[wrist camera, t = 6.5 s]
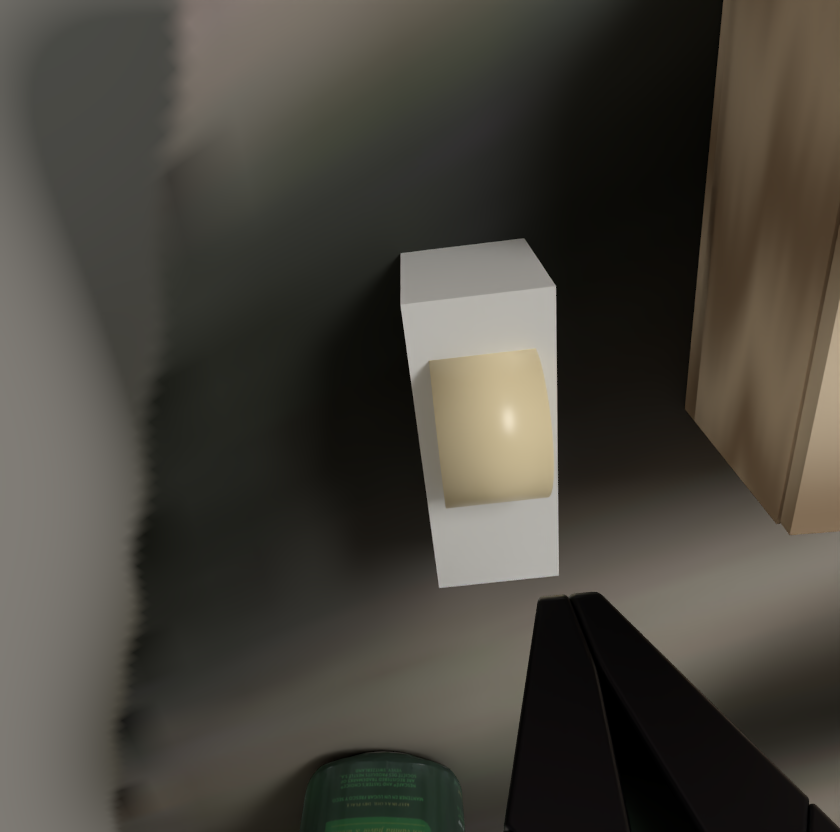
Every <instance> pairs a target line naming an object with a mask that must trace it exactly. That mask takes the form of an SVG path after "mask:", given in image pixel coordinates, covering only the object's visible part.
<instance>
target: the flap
mask: <svg viewBox="0 0 840 832" xmlns="http://www.w3.org/2000/svg"><path fill="white" fill-rule="evenodd" d="M780 522H781V524H782V525H783V527H784V528H785V529H786V531H787V532H788V533H789V535H797V534H810V533H823V532H836V531H840V225H839V230H838V235H837V240H836V245H835V250H834V255H833V260H832V265H831V270H830V275H829V280H828V285H827V290H826V295H825V300H824V305H823V310H822V315H821V320H820V325H819V330H818V335H817V340H816V345H815V350H814V355H813V360H812V365H811V370H810V375H809V380H808V385H807V390H806V395H805V400H804V405H803V410H802V415H801V420H800V425H799V430H798V435H797V440H796V445H795V450H794V455H793V460H792V465H791V470H790V475H789V480H788V485H787V490H786V495H785V500H784V505H783V510H782V515H781V520H780Z"/></svg>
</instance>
